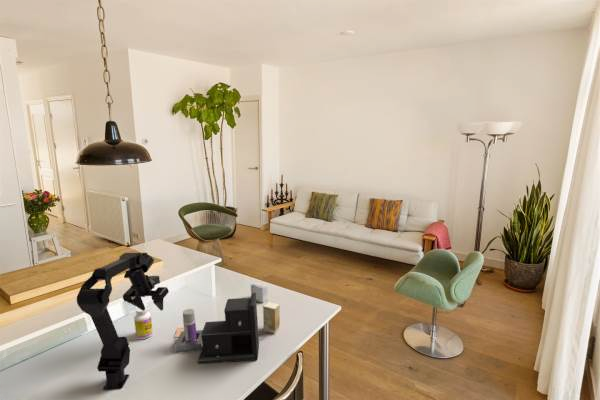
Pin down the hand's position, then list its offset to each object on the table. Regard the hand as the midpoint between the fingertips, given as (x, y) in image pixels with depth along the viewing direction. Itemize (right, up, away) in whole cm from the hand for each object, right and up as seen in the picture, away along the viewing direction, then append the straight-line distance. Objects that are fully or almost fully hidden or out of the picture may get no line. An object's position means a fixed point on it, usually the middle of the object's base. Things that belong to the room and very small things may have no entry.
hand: (153, 309), depth 143 cm
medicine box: (+41, -7, +37) cm, 55 cm away
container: (+16, -15, 0) cm, 22 cm away
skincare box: (+49, -12, +9) cm, 52 cm away
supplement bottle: (-7, -14, +7) cm, 17 cm away
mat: (+10, -13, +8) cm, 18 cm away
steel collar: (+16, -14, 0) cm, 22 cm away
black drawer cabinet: (+34, -16, -6) cm, 38 cm away
